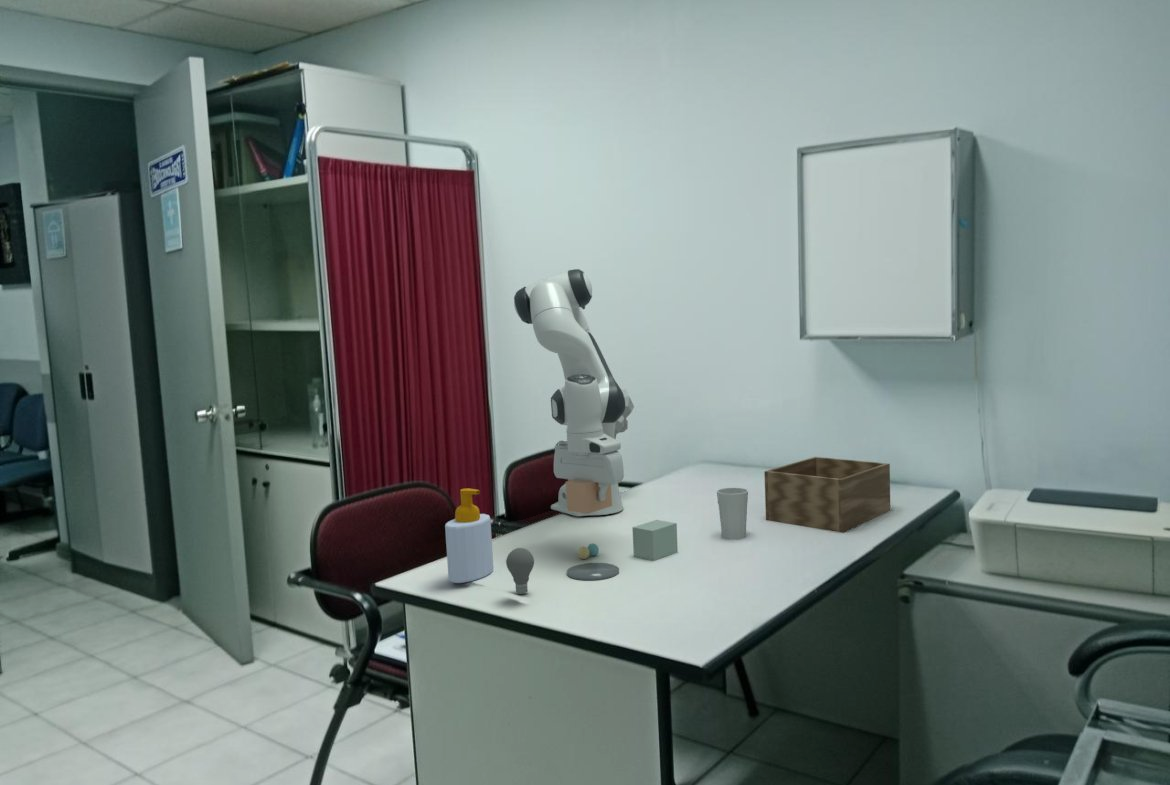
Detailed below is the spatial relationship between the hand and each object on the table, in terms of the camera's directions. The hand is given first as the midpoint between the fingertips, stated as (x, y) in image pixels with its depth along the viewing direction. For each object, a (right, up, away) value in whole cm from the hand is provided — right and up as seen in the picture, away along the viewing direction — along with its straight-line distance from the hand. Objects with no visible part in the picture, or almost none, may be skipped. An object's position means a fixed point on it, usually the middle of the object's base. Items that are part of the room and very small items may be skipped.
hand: (589, 498), depth 222 cm
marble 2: (+1, -14, +3) cm, 15 cm away
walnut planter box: (+65, -9, +28) cm, 72 cm away
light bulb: (-15, -18, -24) cm, 33 cm away
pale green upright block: (+16, -14, +1) cm, 21 cm away
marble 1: (-2, -14, 0) cm, 15 cm away
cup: (+37, -12, +14) cm, 42 cm away
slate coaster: (+1, -16, -11) cm, 19 cm away
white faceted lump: (+6, -9, +58) cm, 59 cm away
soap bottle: (-27, -17, -9) cm, 33 cm away
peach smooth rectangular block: (0, -2, 0) cm, 2 cm away
